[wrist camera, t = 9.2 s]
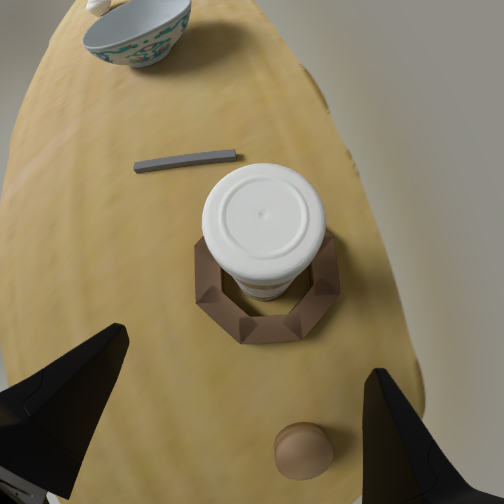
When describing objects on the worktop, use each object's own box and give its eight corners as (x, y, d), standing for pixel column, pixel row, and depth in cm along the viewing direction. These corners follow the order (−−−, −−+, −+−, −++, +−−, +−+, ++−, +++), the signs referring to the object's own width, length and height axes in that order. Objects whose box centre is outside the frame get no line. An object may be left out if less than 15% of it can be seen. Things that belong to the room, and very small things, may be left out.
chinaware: (91, 99, 29) (66, 62, 22) (116, 42, 33) (101, 10, 25) (196, 74, 29) (184, 26, 21) (202, 21, 33) (195, -16, 25)
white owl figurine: (116, 3, 39) (108, -17, 32) (114, 12, 37) (104, -11, 30) (93, 14, 38) (83, -6, 32) (89, 23, 37) (78, 2, 30)
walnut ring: (338, 334, 21) (343, 335, 20) (201, 344, 22) (197, 345, 20) (324, 205, 24) (327, 198, 23) (198, 214, 24) (194, 207, 23)
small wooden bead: (332, 451, 19) (340, 465, 16) (286, 470, 19) (288, 487, 16) (314, 413, 20) (321, 425, 17) (265, 434, 20) (266, 448, 17)
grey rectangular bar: (235, 153, 26) (235, 149, 25) (236, 160, 25) (235, 156, 25) (137, 166, 26) (134, 162, 25) (136, 173, 26) (133, 169, 25)
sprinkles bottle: (277, 237, 24) (293, 143, 10) (300, 288, 23) (350, 246, 9) (226, 259, 23) (182, 186, 10) (248, 311, 22) (228, 301, 9)
